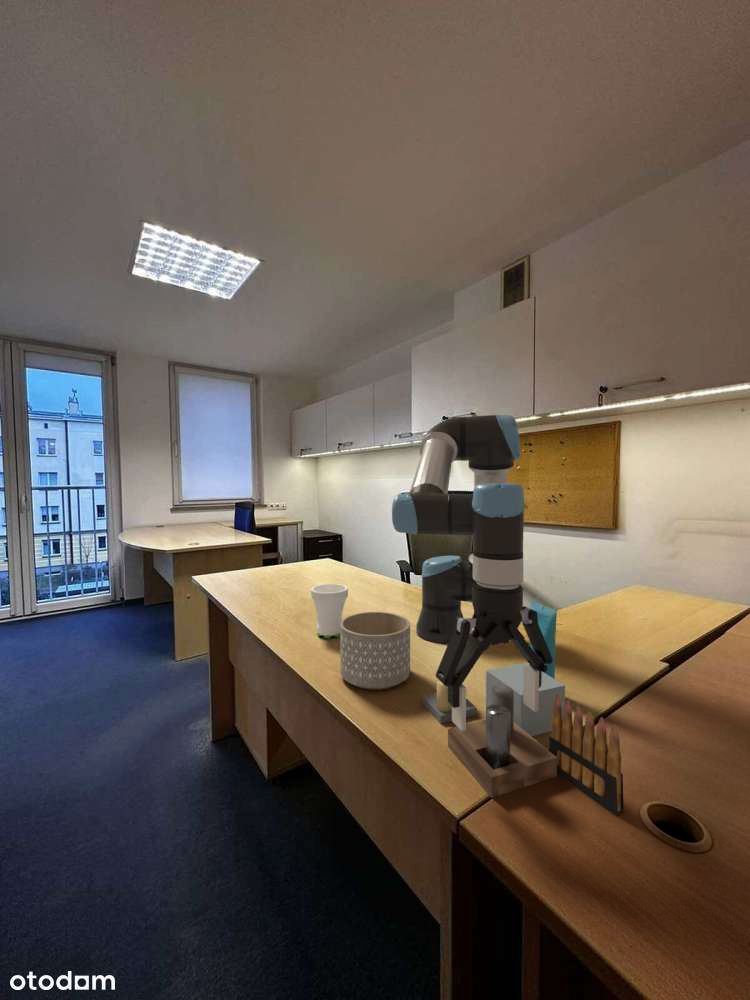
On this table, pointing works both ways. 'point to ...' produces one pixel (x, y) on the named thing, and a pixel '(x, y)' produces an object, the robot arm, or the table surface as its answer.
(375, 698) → the table surface
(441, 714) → the board
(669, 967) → the table surface
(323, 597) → the cup
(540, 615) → the tube
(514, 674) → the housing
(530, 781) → the socket board
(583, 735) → the ammunition clip
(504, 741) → the peg
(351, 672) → the planter
